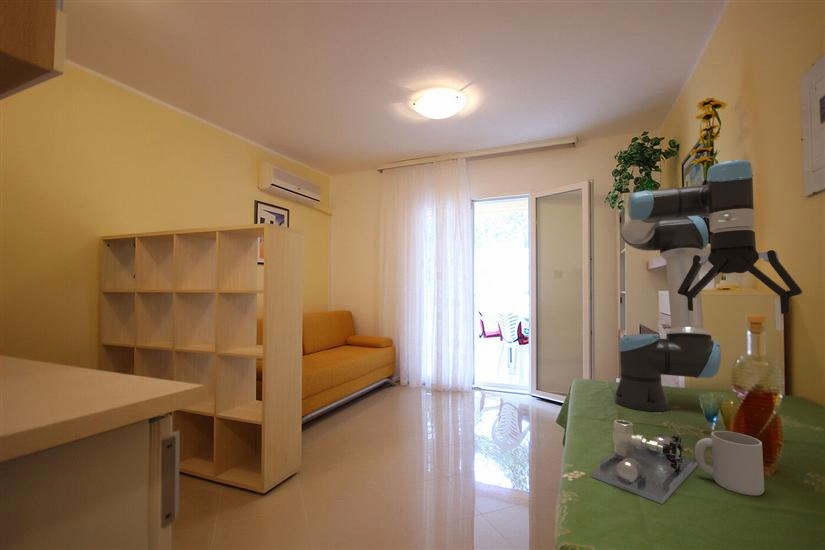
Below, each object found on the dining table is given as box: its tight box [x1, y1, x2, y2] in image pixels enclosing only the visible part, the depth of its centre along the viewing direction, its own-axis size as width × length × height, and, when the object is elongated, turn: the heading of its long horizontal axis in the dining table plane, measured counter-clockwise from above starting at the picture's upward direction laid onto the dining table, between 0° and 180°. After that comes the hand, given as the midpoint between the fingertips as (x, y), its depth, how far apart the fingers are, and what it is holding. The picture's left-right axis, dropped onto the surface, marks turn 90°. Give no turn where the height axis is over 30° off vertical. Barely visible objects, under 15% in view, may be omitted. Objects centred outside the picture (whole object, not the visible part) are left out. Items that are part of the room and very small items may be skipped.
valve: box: [612, 419, 685, 470], centre depth 75 cm, size 7×7×12 cm
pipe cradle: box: [590, 433, 699, 505], centre depth 74 cm, size 23×12×5 cm, turn 130°
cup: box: [693, 430, 765, 497], centre depth 69 cm, size 7×10×9 cm
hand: (735, 327), depth 79 cm, fingers open, 13 cm apart
